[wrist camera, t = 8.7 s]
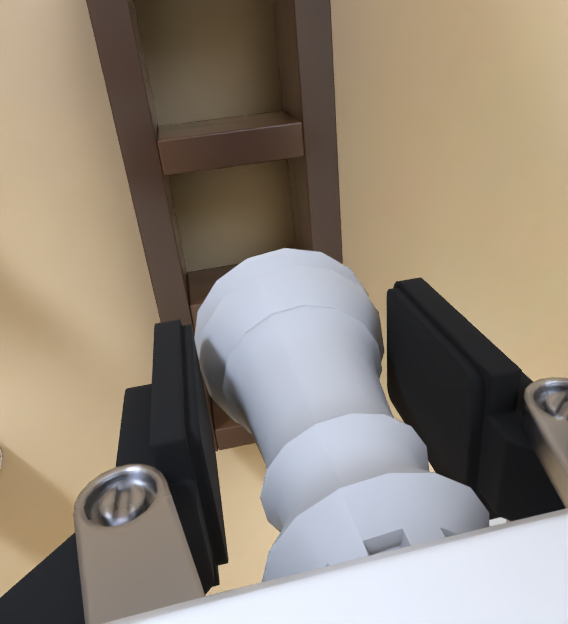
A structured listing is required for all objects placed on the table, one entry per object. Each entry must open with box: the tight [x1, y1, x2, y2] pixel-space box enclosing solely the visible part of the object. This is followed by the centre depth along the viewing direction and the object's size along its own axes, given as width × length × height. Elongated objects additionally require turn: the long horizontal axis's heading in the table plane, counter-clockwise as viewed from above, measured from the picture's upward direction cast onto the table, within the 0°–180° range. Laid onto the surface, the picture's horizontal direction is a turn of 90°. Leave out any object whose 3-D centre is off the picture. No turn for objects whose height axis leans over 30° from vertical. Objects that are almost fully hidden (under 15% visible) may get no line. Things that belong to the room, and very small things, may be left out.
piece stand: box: [86, 0, 343, 451], centre depth 21 cm, size 7×20×4 cm, turn 5°
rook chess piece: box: [194, 248, 490, 582], centre depth 10 cm, size 4×4×8 cm
